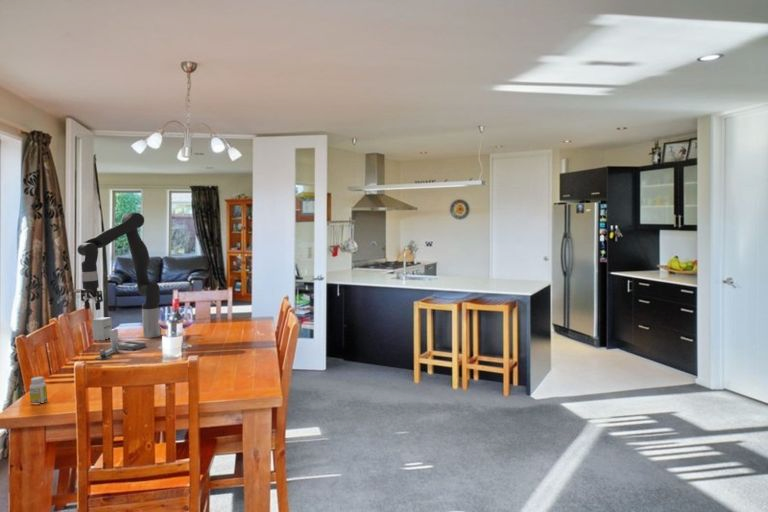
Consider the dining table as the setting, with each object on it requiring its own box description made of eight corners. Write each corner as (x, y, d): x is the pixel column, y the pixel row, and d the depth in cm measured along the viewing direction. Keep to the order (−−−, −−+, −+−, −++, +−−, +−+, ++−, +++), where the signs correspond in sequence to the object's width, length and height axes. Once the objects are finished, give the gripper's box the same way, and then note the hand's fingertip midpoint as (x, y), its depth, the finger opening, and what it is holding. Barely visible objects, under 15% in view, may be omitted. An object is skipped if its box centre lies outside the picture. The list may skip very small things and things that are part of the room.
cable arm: (105, 357, 259) (103, 335, 258) (98, 357, 259) (96, 335, 258) (120, 350, 274) (118, 329, 273) (113, 350, 274) (112, 329, 273)
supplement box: (103, 340, 299) (102, 319, 298) (93, 340, 301) (91, 319, 300) (113, 338, 306) (111, 317, 306) (102, 337, 308) (101, 317, 307)
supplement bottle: (43, 399, 199) (42, 375, 199) (50, 402, 196) (48, 377, 195) (28, 403, 195) (26, 378, 194) (34, 406, 192) (32, 381, 191)
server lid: (128, 344, 288) (128, 340, 288) (146, 346, 283) (145, 342, 282) (114, 348, 280) (113, 344, 280) (131, 350, 274) (131, 346, 274)
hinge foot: (104, 355, 264) (104, 355, 264) (112, 357, 262) (112, 356, 262) (93, 358, 259) (93, 358, 259) (101, 360, 256) (101, 359, 256)
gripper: (105, 279, 276) (107, 308, 277) (88, 278, 282) (90, 307, 283) (92, 281, 269) (95, 311, 270) (74, 280, 275) (77, 310, 276)
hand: (92, 309), depth 277 cm, fingers open, 8 cm apart
